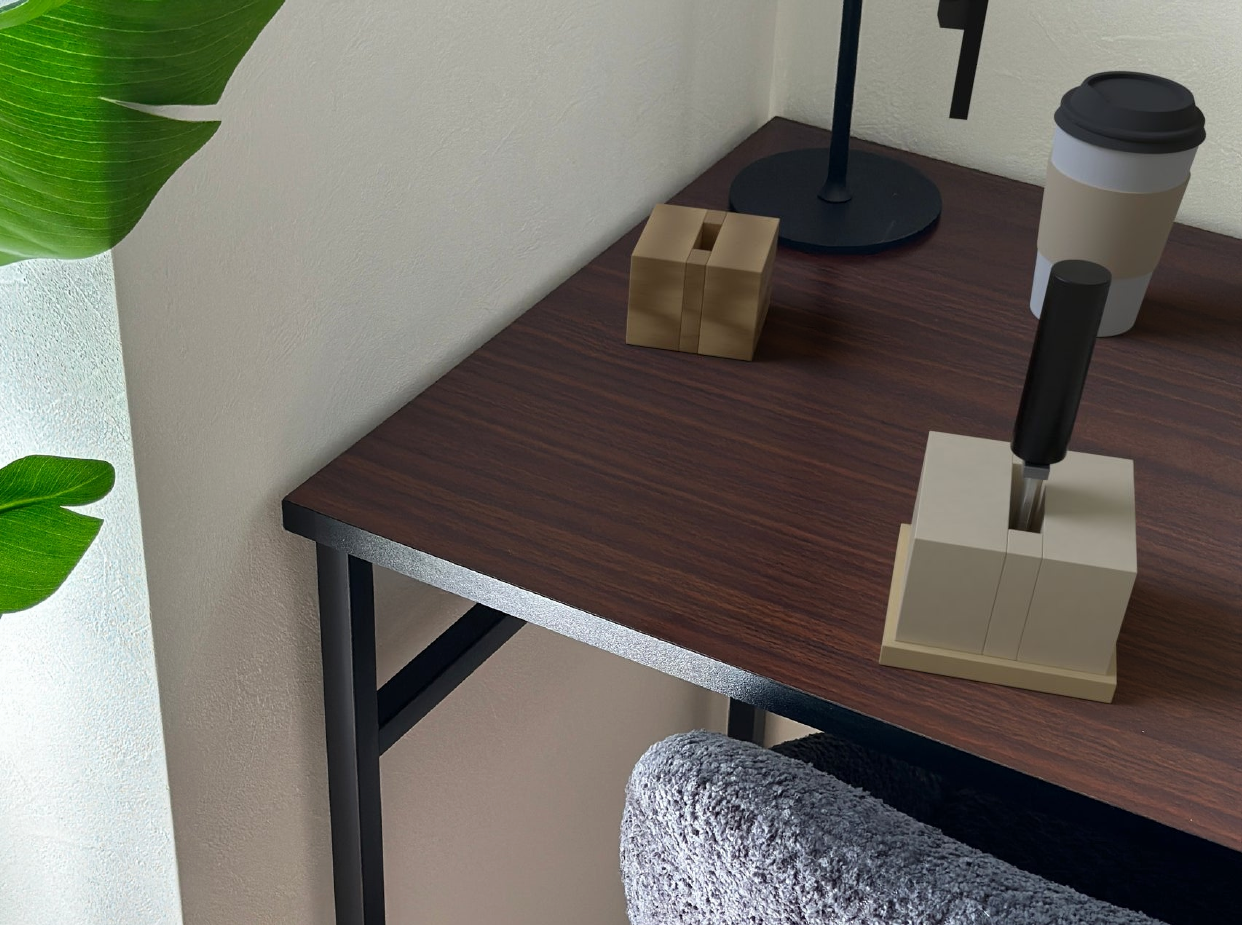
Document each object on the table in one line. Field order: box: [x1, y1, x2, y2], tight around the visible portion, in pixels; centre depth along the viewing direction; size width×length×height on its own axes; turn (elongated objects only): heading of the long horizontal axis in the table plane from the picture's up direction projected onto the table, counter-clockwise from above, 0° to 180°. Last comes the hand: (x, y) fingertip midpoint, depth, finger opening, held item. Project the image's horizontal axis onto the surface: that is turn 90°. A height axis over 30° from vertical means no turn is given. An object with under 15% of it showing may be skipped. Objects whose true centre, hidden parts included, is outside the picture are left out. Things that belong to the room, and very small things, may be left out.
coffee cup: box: [1029, 70, 1207, 338], centre depth 108 cm, size 9×9×15 cm
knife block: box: [625, 202, 781, 362], centre depth 108 cm, size 8×8×6 cm
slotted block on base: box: [878, 430, 1138, 704], centre depth 84 cm, size 11×11×7 cm
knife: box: [1010, 259, 1112, 532], centre depth 80 cm, size 3×3×18 cm
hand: (1126, 125), depth 71 cm, fingers open, 13 cm apart
